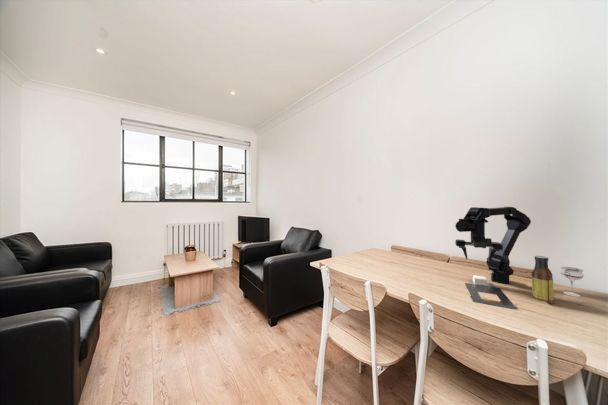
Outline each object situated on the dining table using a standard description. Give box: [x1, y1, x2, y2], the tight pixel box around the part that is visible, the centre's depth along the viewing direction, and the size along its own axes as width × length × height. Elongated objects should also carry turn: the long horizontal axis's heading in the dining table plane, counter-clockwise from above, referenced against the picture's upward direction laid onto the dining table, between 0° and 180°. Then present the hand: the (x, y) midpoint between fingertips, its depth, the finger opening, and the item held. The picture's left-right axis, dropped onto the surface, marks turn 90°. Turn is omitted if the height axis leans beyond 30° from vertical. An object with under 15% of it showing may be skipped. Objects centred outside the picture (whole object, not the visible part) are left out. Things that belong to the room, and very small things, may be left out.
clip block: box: [472, 274, 488, 286], centre depth 110 cm, size 5×5×3 cm
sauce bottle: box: [531, 255, 555, 305], centre depth 93 cm, size 6×6×20 cm
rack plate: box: [464, 282, 517, 310], centre depth 99 cm, size 14×20×1 cm
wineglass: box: [559, 266, 584, 297], centre depth 98 cm, size 7×7×12 cm
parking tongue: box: [469, 279, 491, 287], centre depth 110 cm, size 8×5×1 cm, turn 61°
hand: (477, 260), depth 110 cm, fingers open, 9 cm apart
